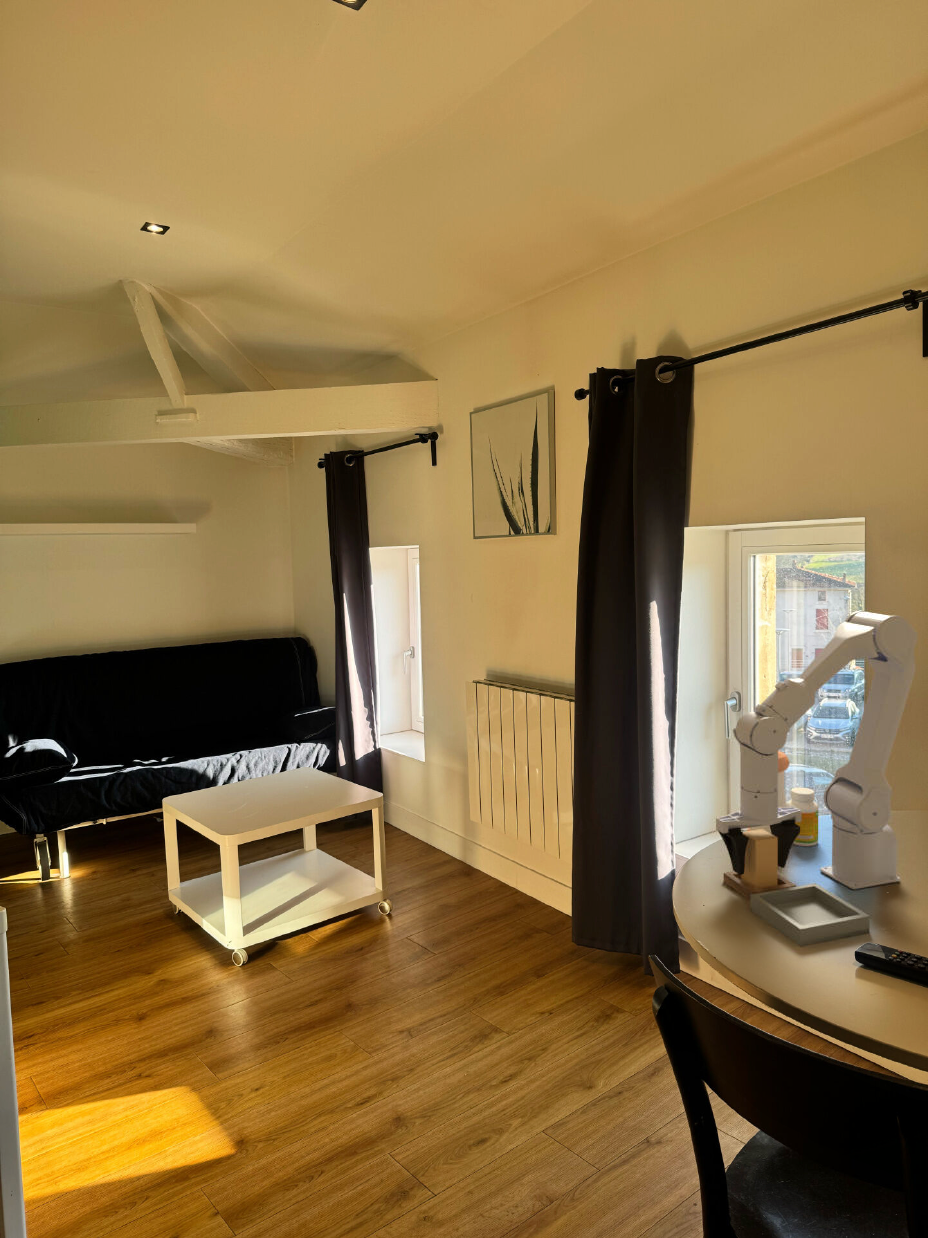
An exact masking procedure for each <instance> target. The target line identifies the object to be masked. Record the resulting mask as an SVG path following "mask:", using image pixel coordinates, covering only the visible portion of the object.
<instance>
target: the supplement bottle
mask: <svg viewBox="0 0 928 1238" xmlns="http://www.w3.org/2000/svg"><path fill="white" fill-rule="evenodd" d="M790 798H791V799H790V800H788V802H786V804H787V807H795V808H797V809H799V810H801V822H795V824H797V825H799V826H800V833H799V835H798V836H797V837H796V839H795V841H794V842H793V844H792V845H795V846H800V847H812V846H816V845H817V844H818V843H819V805H818V803H817V802H816V801H814V800H815V790H813V789H811V788H808V787H794V788H791V790H790Z"/></svg>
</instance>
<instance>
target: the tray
mask: <svg viewBox="0 0 928 1238" xmlns="http://www.w3.org/2000/svg"><path fill="white" fill-rule="evenodd" d="M750 911H752V912H753V913H754V914H755V915H757V916H758V917H760V918H761V919H762V920H764V921H765V922H767V923H768V924H769V925H771V927H773V928H775V929H776V930H777V931H779V932H780V933H782V934H783V935H784V936H785V937H787V938H789V939H790V940H791V941H792V942H794V943H795V944H797V945H798V946H800V947H802V946H803V947H804V946H808V945H813V944H814V945H815V944H818V943H824V942H829V941H833V940H839V939H845V938H848V937H854V936H857V935H863V934H868V933H870V923H871V922H870V921H871V917H870V915H869V914H868V913H865V912H864V911H862V910H861V909H859V908H857V907H855V906H854V905H853V904H851V903H849V902H847V901H845V900H844V899H842V898H840V897H839V896H837V895H836V894H834V893H832V892H831V891H829V890H827V889H825V888H824V887H822V886H820V885H819V884H817V883H808V884H804V885H803V884H802V885H798V886H797V885H796V887H791V888H785V889H780V890H774V891H768V892H763V893H757V894H751V901H750Z"/></svg>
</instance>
